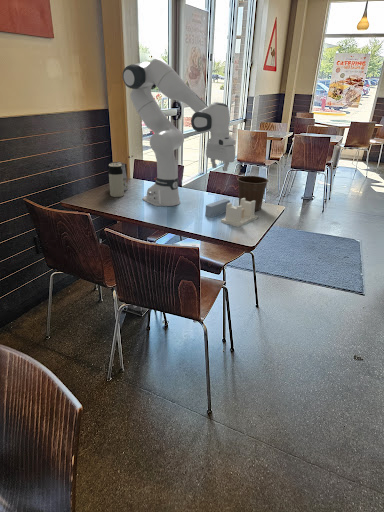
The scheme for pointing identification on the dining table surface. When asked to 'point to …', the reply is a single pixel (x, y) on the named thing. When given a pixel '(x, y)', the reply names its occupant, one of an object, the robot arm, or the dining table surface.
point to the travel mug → (116, 180)
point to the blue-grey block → (216, 208)
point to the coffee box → (124, 174)
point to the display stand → (240, 213)
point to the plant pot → (252, 189)
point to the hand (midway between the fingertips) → (219, 169)
